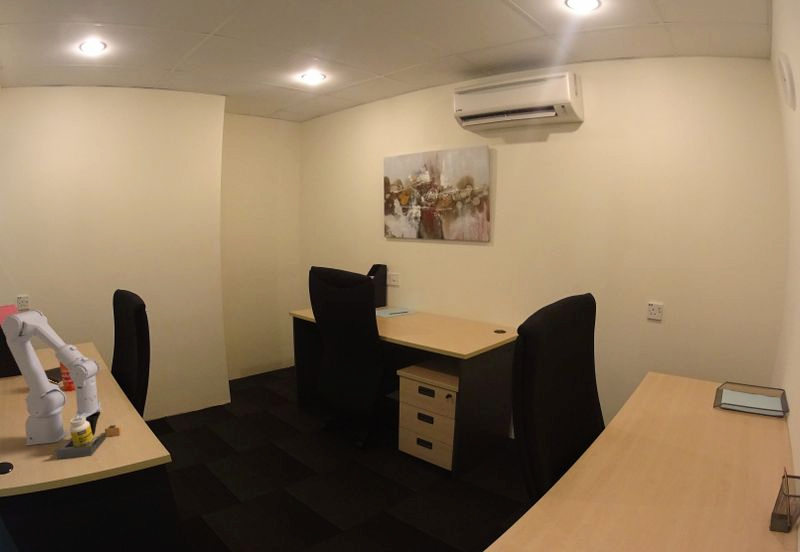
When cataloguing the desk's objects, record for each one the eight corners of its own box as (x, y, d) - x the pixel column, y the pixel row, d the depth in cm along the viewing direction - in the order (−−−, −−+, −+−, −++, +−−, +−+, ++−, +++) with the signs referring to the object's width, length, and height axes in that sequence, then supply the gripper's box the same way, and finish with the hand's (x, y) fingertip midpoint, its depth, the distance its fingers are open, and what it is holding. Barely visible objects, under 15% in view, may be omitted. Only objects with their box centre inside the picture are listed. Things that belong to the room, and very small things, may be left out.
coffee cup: (56, 390, 195) (53, 357, 194) (76, 384, 203) (73, 352, 201) (69, 393, 192) (66, 359, 190) (88, 386, 200) (85, 354, 198)
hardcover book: (73, 367, 228) (73, 363, 228) (97, 375, 216) (96, 370, 216) (36, 377, 214) (35, 372, 214) (58, 385, 203) (58, 381, 203)
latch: (105, 436, 153) (104, 427, 152) (106, 435, 154) (105, 425, 154) (119, 435, 154) (118, 425, 154) (120, 433, 155) (120, 424, 155)
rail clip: (56, 459, 138) (56, 450, 138) (77, 437, 152) (76, 429, 152) (91, 455, 141) (90, 446, 140) (109, 434, 154) (108, 426, 154)
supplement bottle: (81, 451, 143) (73, 425, 140) (70, 447, 145) (63, 421, 143) (98, 441, 148) (91, 415, 145) (87, 437, 150) (80, 412, 147)
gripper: (91, 404, 143) (94, 444, 145) (108, 387, 157) (111, 424, 159) (66, 406, 142) (70, 446, 143) (86, 389, 156) (89, 426, 157)
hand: (90, 435), depth 151 cm, fingers closed
